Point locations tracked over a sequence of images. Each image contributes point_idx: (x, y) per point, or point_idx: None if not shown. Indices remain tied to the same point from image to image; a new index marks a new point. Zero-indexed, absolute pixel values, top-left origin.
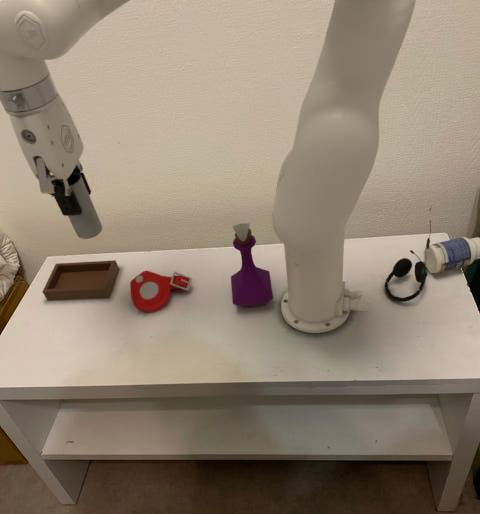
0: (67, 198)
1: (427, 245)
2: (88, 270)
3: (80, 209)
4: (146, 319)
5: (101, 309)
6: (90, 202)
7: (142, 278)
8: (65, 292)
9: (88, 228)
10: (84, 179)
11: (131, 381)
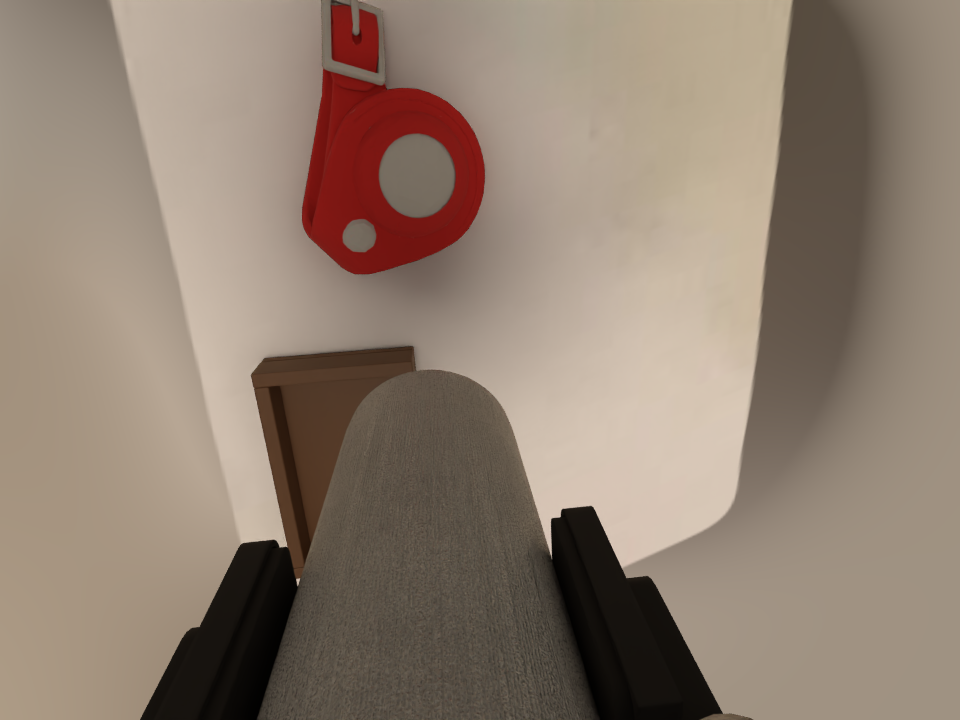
0: (720, 713)
1: None
2: (294, 463)
3: (589, 528)
4: (512, 175)
5: (466, 356)
6: (420, 487)
7: (358, 222)
8: None
9: (509, 437)
10: (213, 683)
11: (771, 153)
